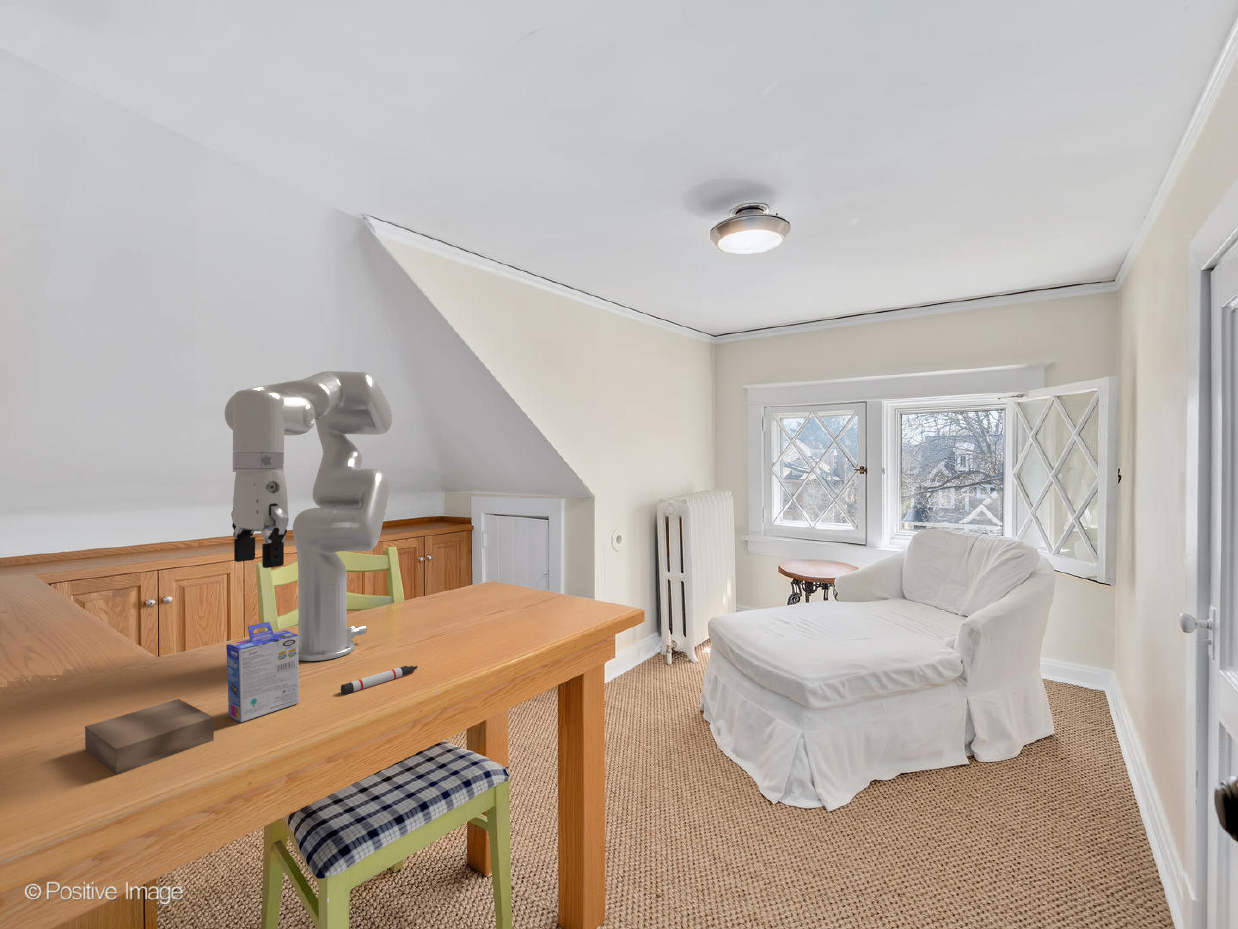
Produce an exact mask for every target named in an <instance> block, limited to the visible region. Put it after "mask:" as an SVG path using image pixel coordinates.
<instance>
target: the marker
mask: <svg viewBox="0 0 1238 929" xmlns="http://www.w3.org/2000/svg"><path fill="white" fill-rule="evenodd" d="M418 666H419V665H416V666H414V665H403V666H400V667H396V668H393V669H390V670H386V671H383V672H379V673H376V674H373V675H370V676H366V677H363V678H360V679H356V680H353V681H350V682H347V683H344V684H341V685H340V693H341V694H343V695H344V696H345V695H349V694H352V693H355V692H359V691H362V690H365V689H368V688H372V687H375V686H378V685H381V684H384V683H386V682H390V681H394V680H396V679H400V678H402V677H405V676H409V675H410V673H414V672H415V670H417V669H418Z"/></svg>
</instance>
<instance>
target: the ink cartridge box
mask: <svg viewBox="0 0 1238 929" xmlns="http://www.w3.org/2000/svg"><path fill="white" fill-rule="evenodd" d="M260 628H266V629H267V630H265V631H260V632H257V633H254V631H256V630H258V629H260ZM247 629H248V635H249V638H247V639H244V640H239V641H235V642H231V643H228V644H226V646H225V647H226V667H227V668H226V670H227V672H226V673H227V697H228V698H227V701H228V702H227V703H228V704H227V705H228V707H227V708H228V709H227V710H228V716H229V717H231V718H232V719H233V720H235V721H237V722H238V723H243V722H246V721H249V720H251V719H256V718H258V717H260V716H264V715H266V714H270V713H272V712H276V711H279V710H282V709H285V708H287V707H290V706H293V705H297V704H299V703H300V678H299V677H300V675H299V674H300V672H299V671H300V670H299V668H300V667H299V660H298V644H299V634H296V633H294V632H291V631H289V630H279V631H275V632H274V631H273V628H272V625H271V623H270V621H267V622H263V623H257V624H251V625H247Z"/></svg>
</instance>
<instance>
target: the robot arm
mask: <svg viewBox="0 0 1238 929" xmlns="http://www.w3.org/2000/svg"><path fill="white" fill-rule="evenodd" d="M224 420H225V422H226V425H227V426H228V428H230V429H231V430H232V472H233V473H235V476H234V477H235V478H234V486H233V500H232V503H233V504H232V510H231V513H230V515H231V519H232V526H231V527H232V528H233V533H232V536H233V541H234V542H233V543H234V544H233V545H234V546H233V557H234V558H233V559H234V562H235V563H236V562H237V563H240V562H249V561H254V560H255V559H256V537H255V536H253V535H254V533H255V532H261V535H262V537H263V540H264V542H265V543H262V544H261V545H262V547H261V549H262V550H261V551H262V552H261V554H262V555H261V557H262V558H261V560H262V562H261V566H262V568H263V569H270V568H276V567H283V566H284V563H285V561H284V560H285V558H284V557H285V556H284V553H285V548H284V546H285V544H284V543H285V541H286V534H287V532H288V529H287V527H288V526H289V503H288V502H289V501H288V490H287V482H286V477H285V473H284V472H285V436H300V435H305V434H306V433H308V432H309V431H310V430H311V429H312V428H313V426H314V425H315V426H316V430H317V435H318V439H319V441H320V444H321V447H322V457H321V461H320V464H319V468H318V471H317V475H316V478H315V480H314V483H313V488H312V500H313V503H314V504H315V505H316V506H317V507H313V508H307V509H305V510H302V511H301V512H299V513H298V514H297V515H296V516H295V518H294V520H293V523H292V537H293V539H294V545H295V550H296V551H295V552H296V556H297V558H296V559H297V570H298V571H297V575H298V576H297V578H298V583H297V584H298V585H297V587H298V588H297V589H298V590H297V591H298V592H297V594H298V596H297V597H298V599H297V601H298V602H297V604H298V605H297V606H298V607H297V608H298V611H297V612H298V613H297V614H298V622H297V623H298V661H302V662H318V661H327V660H332V659H336V658H340V657H344V656H345V655H348V654H350V653H351V652H352V651H354V649H355V641H353V640H352V639H354V638H355V636H361V635H365V634H366V633H367V631H368V630H367V626H366V625H359V626H356V627H355V626H354V625H352V626H347V624H348V621H347V620H348V619H347V618H348V613H347V612H348V610H347V609H348V608H347V607H348V605H347V603H348V602H347V601H348V599H347V598H348V595H347V594H348V593H347V592H348V591H347V584H348V583H347V580H348V574H347V568H346V566H345V564H344V561H343V560H342V559H341V558H340V556H339V555H338V554H337V553H338V552H367V551H371V550H373V549H374V548H376V547H377V545H378V542H380V538H381V537H380V536H381V534H382V529H383V524H384V520H385V515H386V514H385V513H386V509H387V505H388V498H389V482H388V481H389V480H388V478H387V476H386V475H385V473H384V472H383V471H381V470H379V469H376V468H361V465H362V460H363V456H362V454H361V452H360V451H359V449H358V447H357V446H356V445H355V444H354V443H353V442H352V441H351V440H350V439H348V437H347V435H383V434H385V433H388V432H389V430H390V429H391V426H392V424H393V414H392V409H391V407H390V404H389V401H388V399H387V397H386V396H385V393H384V391H383V389H382V388H381V386H380V383H379V382H378V381H377V380H376V378H375V377H374V376H372V374H370V373H369V372H365V371H341V370H338V371H337V370H336V371H334V370H331V371H329V370H328V371H321V372H318V373H315V374H313V375H310V376H308V377H305V378H302V379H297V380H291V381H290V380H289V381H284V382H279V383H274V384H267V385H260V386H255V387H250V388H246V389H241V390H239V391H236V392H235V393H234V394H233V395H232V396H231V397H230V398H229V399H228V401H227V402H226V405H225V408H224ZM270 532H271V533H270Z"/></svg>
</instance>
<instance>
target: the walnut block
mask: <svg viewBox="0 0 1238 929" xmlns="http://www.w3.org/2000/svg"><path fill="white" fill-rule="evenodd" d="M214 724H215V723H214V716H212V715H210V714H208V713H207V712H204V711H202V710H201V709H199V708H197V707H195V706H193V705H191V704H190V703H188V702H185V701H183V700H182V699H180V698H177V699H173V700H171V701H167V702H164V703H160V704H157V705H153V706H149V707H146V708H142V709H140V710H136V711H133V712H129V713H125V714H123V715H119V716H115V717H113V718H110V719H109V718H108V719H106V720H102V721H99V722H96V723H92V724H88V725H86V726H84V736H85V737H84V741H85V742H84V744H85V746H84V747H85V752H86V753H88V754H89V755H90V756H92V757H93V758H94V759H96V760H97V761H98V762H99V763H100V764H102V765H103V766H104V767H106V768H107V769H109V770H110V771H111V772H113V773H114V775H116V776H118V775H122V774H125V773H127V772H130V771H132V770H135V769H137V768H141V767H144V766H146V765H148V764H149V765H150V764H153V763H155V762H157V761H160V760H163V759H166V758H169V757H171V756H174V755H176V754H179V753H182V752H185V751H188V750H191V749H193V748H196V747H199V746H201V745H204V744H207V743H210V742H213V741H214V739H215V737H214V734H215V733H214Z"/></svg>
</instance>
